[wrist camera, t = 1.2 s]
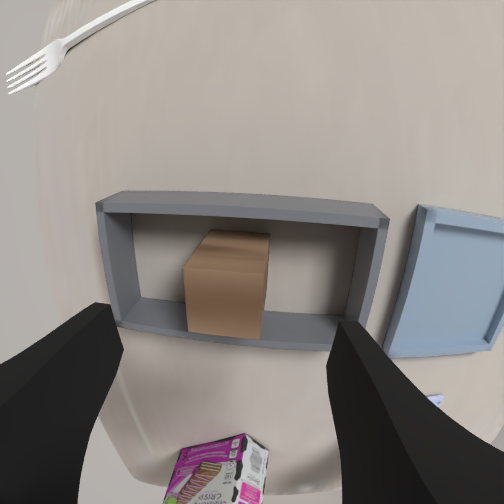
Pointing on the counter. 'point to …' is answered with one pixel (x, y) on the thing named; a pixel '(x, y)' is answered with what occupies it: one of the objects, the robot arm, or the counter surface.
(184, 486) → the candy bar box
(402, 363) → the counter surface
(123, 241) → the gray rectangular bin
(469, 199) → the counter surface
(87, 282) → the counter surface
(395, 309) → the light blue tray
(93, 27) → the fork
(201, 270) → the walnut block
